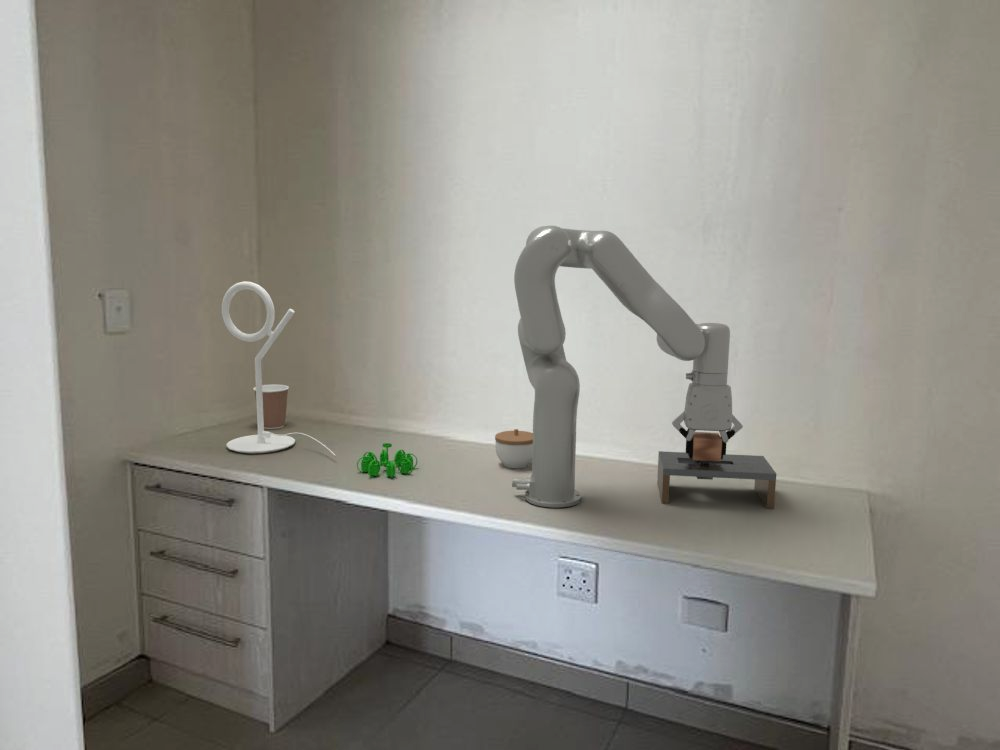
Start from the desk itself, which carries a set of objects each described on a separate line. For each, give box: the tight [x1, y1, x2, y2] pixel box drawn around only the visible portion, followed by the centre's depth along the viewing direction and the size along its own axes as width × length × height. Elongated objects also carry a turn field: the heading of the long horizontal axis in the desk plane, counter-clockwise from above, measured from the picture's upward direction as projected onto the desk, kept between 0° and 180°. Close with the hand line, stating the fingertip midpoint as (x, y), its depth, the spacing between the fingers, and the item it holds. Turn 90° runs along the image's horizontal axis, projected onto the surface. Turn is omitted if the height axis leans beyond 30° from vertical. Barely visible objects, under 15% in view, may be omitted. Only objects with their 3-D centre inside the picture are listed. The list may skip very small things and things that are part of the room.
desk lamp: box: [221, 280, 337, 458], centre depth 210 cm, size 37×18×45 cm, turn 73°
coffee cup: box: [252, 384, 290, 430], centre depth 237 cm, size 10×10×12 cm
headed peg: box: [692, 431, 722, 481], centre depth 178 cm, size 6×6×10 cm
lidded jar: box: [494, 428, 533, 469], centre depth 201 cm, size 11×11×9 cm
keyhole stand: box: [656, 451, 777, 510], centre depth 179 cm, size 24×14×8 cm, turn 83°
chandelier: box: [356, 442, 418, 479], centre depth 195 cm, size 15×15×7 cm
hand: (705, 456), depth 178 cm, fingers closed on headed peg, 6 cm apart
